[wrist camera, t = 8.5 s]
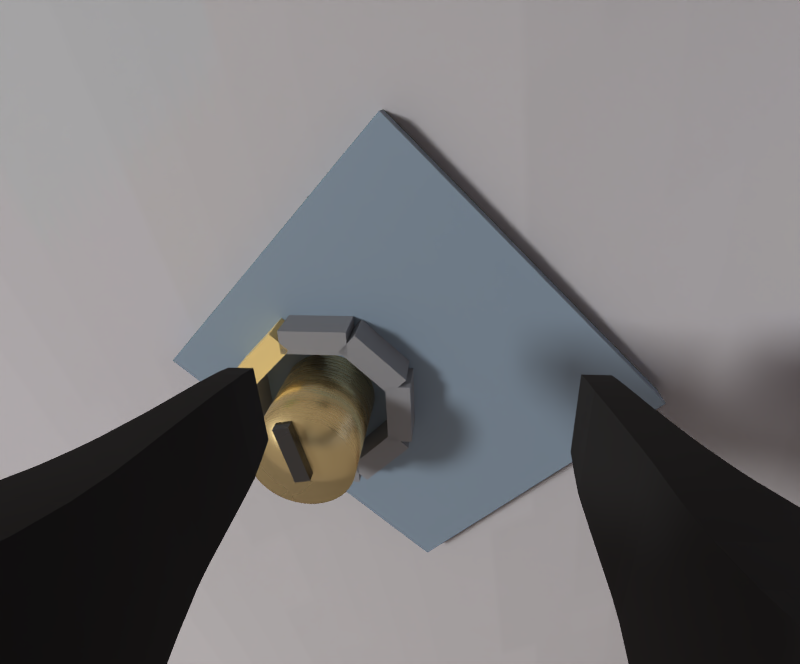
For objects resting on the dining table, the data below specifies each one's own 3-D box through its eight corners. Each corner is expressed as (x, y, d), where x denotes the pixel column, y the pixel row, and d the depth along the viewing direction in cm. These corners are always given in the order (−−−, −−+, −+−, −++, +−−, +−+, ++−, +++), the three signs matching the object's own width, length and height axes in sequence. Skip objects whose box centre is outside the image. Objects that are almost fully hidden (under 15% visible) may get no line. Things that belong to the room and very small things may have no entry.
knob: (384, 423, 22) (366, 507, 18) (302, 433, 23) (266, 516, 18) (361, 347, 20) (334, 419, 16) (273, 361, 21) (225, 433, 17)
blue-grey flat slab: (657, 389, 21) (680, 425, 19) (428, 536, 26) (425, 577, 24) (383, 109, 17) (371, 112, 15) (183, 349, 23) (154, 378, 20)
